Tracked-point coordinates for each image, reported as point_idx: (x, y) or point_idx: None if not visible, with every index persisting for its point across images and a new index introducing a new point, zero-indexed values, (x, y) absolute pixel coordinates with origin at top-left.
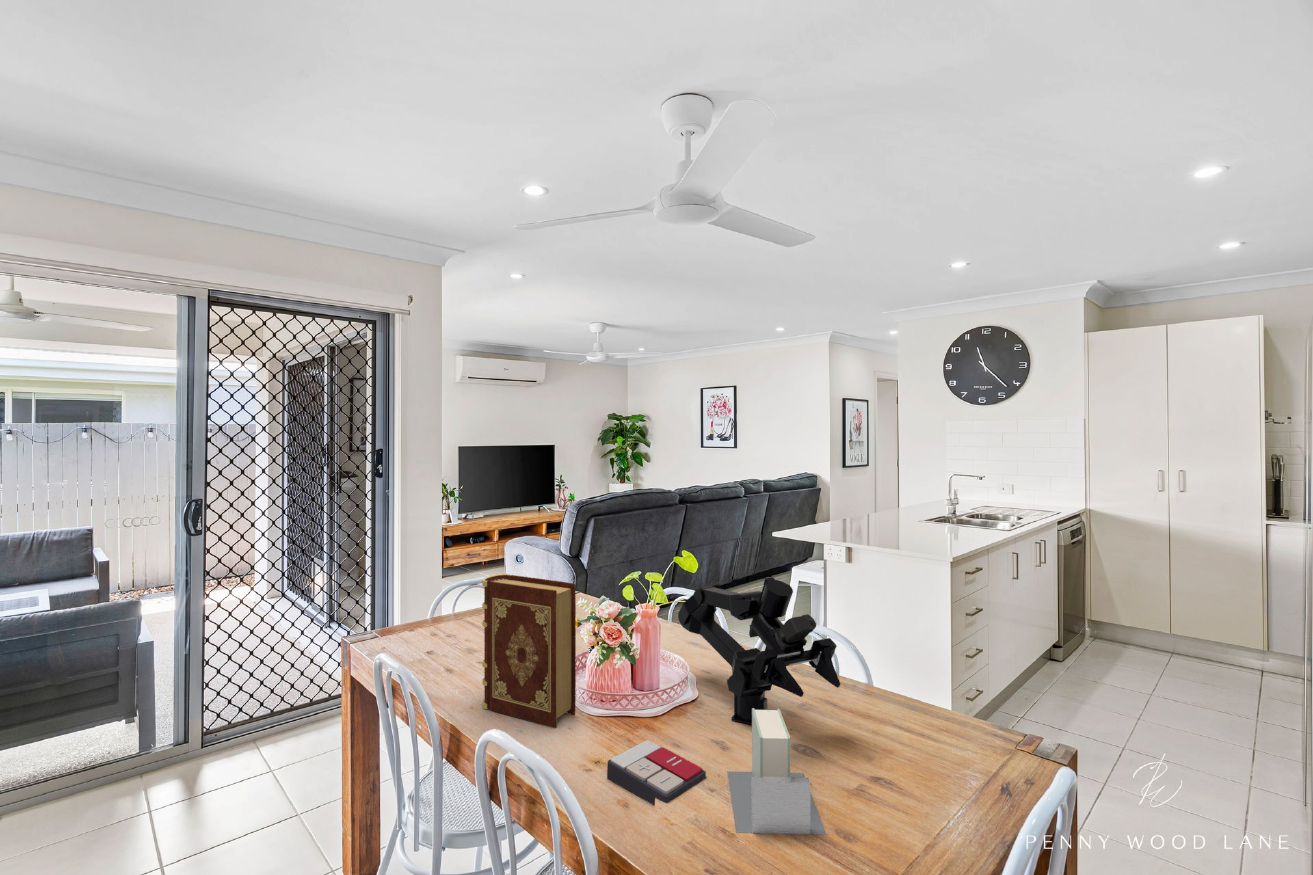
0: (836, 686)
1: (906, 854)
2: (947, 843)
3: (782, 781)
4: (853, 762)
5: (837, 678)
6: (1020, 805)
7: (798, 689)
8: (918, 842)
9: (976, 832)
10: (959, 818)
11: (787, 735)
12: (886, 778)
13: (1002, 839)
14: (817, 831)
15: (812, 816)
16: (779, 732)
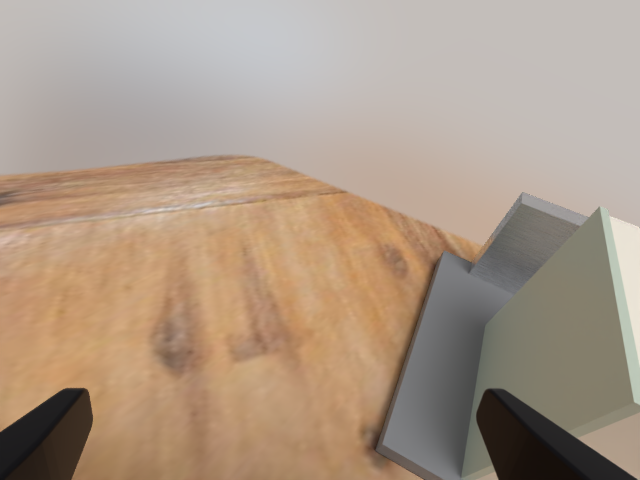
0: (85, 435)
1: (334, 201)
2: (258, 188)
3: (584, 218)
4: (141, 469)
5: (30, 421)
6: (40, 175)
7: (534, 415)
8: (296, 205)
9: (193, 180)
10: (177, 203)
11: (608, 218)
12: (151, 346)
13: (178, 161)
14: (455, 262)
15: (447, 291)
16: (632, 249)
